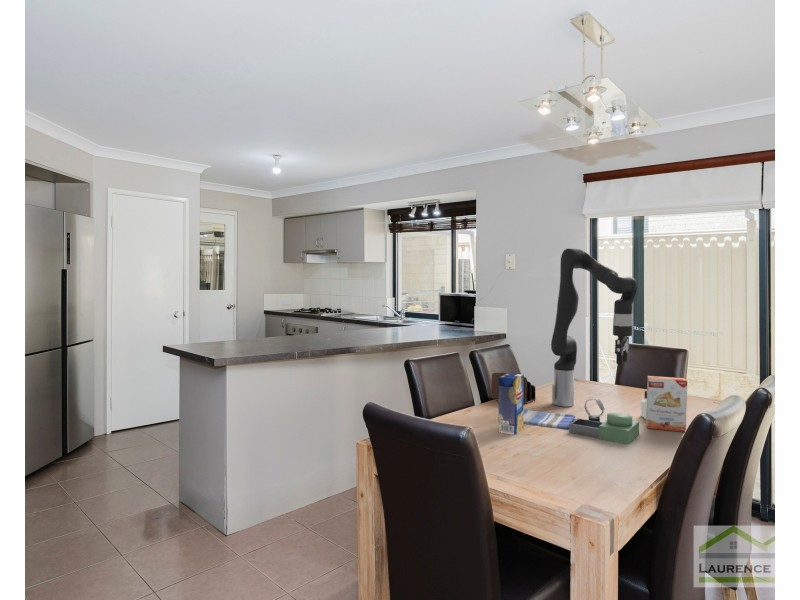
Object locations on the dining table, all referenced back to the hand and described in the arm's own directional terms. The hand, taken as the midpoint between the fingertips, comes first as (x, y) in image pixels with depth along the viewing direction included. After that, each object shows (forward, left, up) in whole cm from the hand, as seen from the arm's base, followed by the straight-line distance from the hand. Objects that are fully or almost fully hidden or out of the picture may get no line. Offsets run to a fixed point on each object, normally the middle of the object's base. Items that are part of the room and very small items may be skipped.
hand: (621, 362), depth 214 cm
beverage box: (-32, -38, -26) cm, 56 cm away
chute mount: (-6, -22, -26) cm, 34 cm away
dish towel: (-27, -17, -26) cm, 41 cm away
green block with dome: (+5, -20, -26) cm, 33 cm away
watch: (-8, -9, -26) cm, 29 cm away
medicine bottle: (+9, +16, -26) cm, 31 cm away
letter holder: (-54, +10, -26) cm, 61 cm away
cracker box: (+17, +2, -26) cm, 31 cm away
